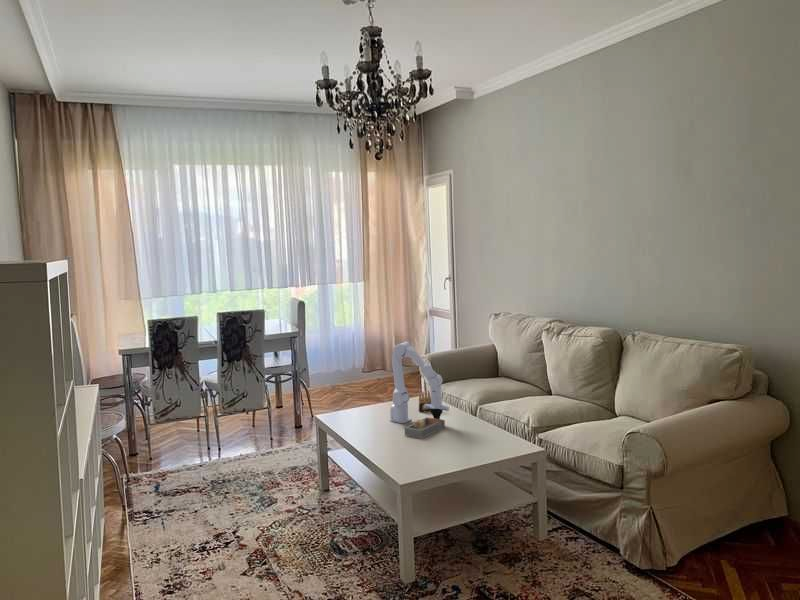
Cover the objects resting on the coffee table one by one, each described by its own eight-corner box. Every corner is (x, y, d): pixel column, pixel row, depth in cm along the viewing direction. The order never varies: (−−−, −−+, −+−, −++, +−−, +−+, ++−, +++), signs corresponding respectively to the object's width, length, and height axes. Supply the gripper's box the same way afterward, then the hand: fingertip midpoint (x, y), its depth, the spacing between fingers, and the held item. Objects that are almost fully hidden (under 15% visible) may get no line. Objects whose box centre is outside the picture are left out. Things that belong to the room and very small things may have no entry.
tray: (404, 435, 317) (404, 427, 317) (426, 424, 334) (426, 417, 334) (421, 438, 311) (421, 430, 311) (442, 427, 328) (442, 420, 328)
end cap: (425, 424, 334) (425, 417, 334) (426, 423, 335) (426, 416, 335) (443, 427, 328) (443, 420, 327) (444, 426, 329) (444, 419, 328)
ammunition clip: (435, 409, 363) (435, 389, 362) (436, 410, 362) (436, 390, 360) (418, 411, 360) (418, 391, 359) (419, 412, 359) (419, 392, 358)
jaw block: (414, 432, 319) (413, 421, 318) (418, 430, 322) (418, 419, 321) (420, 434, 316) (420, 422, 316) (424, 431, 320) (424, 420, 319)
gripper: (420, 397, 332) (421, 422, 334) (444, 401, 324) (445, 426, 326) (427, 394, 338) (428, 418, 340) (450, 397, 330) (451, 422, 332)
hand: (437, 422), depth 333 cm, fingers closed, pressing on end cap
